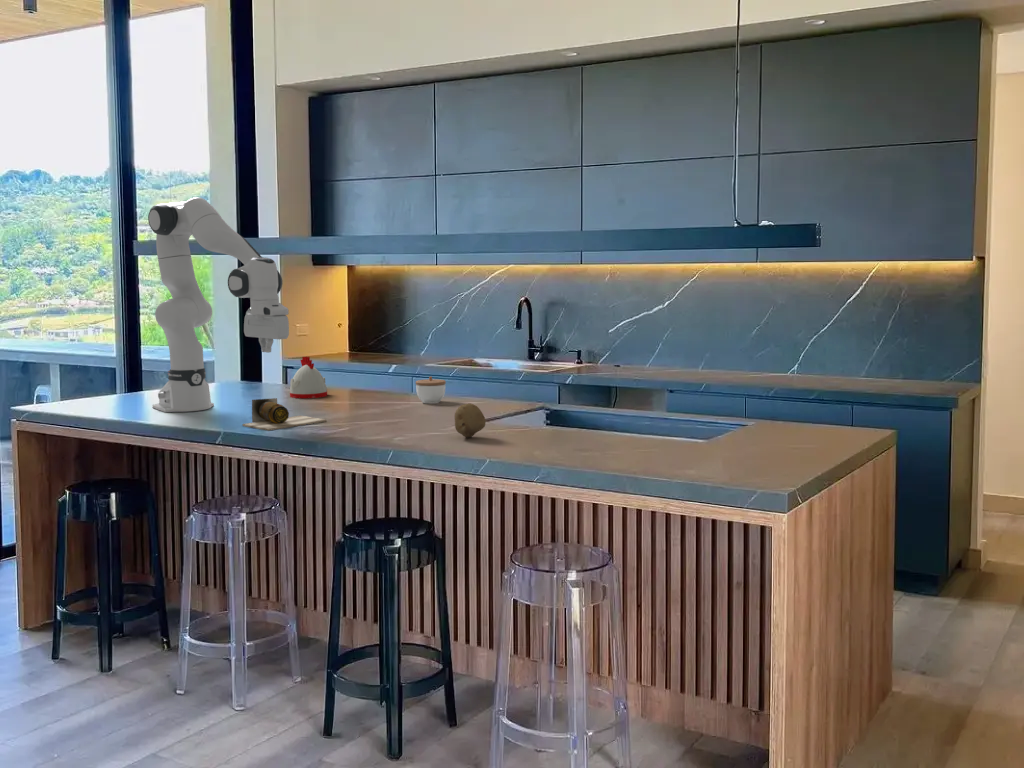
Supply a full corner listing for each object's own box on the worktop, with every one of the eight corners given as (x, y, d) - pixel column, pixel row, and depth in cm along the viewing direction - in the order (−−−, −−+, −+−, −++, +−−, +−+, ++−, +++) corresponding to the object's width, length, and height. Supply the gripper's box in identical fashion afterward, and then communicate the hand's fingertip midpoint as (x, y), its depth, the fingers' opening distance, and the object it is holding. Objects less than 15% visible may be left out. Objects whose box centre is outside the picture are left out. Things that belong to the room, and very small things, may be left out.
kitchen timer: (314, 392, 405) (313, 354, 404) (334, 395, 395) (332, 356, 393) (283, 396, 396) (281, 356, 394) (302, 399, 386) (300, 359, 384)
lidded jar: (449, 400, 378) (448, 374, 377) (442, 404, 368) (441, 378, 367) (420, 400, 380) (419, 374, 379) (412, 404, 370) (412, 378, 369)
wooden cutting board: (242, 425, 328) (242, 424, 328) (300, 417, 344) (300, 415, 344) (268, 430, 319) (267, 428, 318) (326, 421, 334) (326, 419, 334)
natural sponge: (489, 435, 306) (488, 401, 304) (481, 440, 297) (480, 406, 296) (459, 434, 308) (458, 401, 306) (450, 439, 299) (449, 405, 298)
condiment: (277, 420, 338) (291, 425, 328) (251, 422, 333) (265, 427, 324) (276, 398, 337) (291, 402, 328) (251, 399, 333) (265, 403, 323)
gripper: (238, 308, 335) (239, 350, 337) (274, 310, 322) (276, 354, 323) (255, 307, 340) (256, 349, 342) (291, 309, 326) (293, 353, 328)
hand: (266, 352), depth 332 cm, fingers closed
